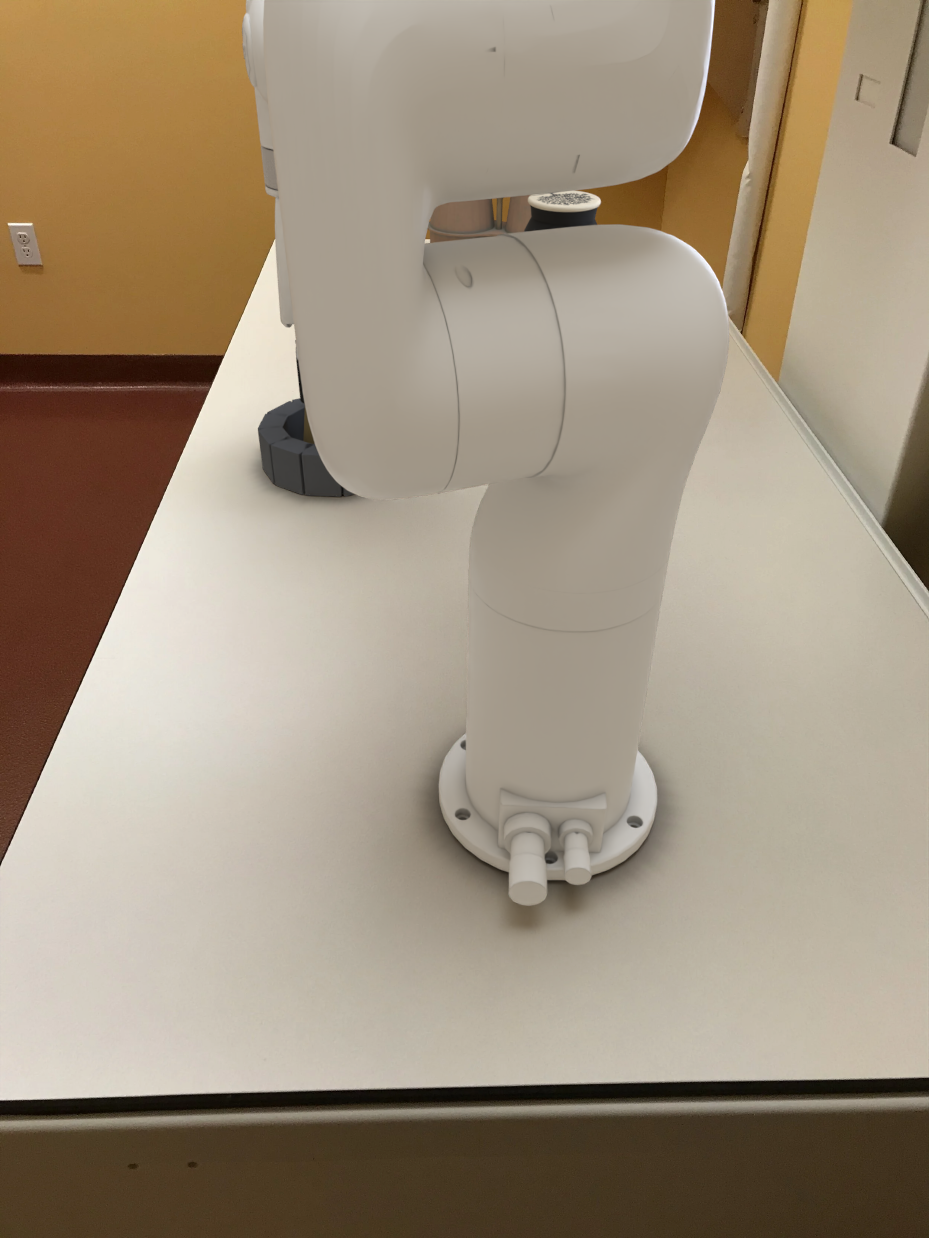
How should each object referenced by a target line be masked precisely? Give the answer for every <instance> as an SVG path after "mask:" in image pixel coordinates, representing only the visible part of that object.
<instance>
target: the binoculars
mask: <svg viewBox="0 0 929 1238" xmlns="http://www.w3.org/2000/svg"><path fill="white" fill-rule="evenodd" d="M529 196H530V195H524V196H514V197H509V203H508V210H507V216H506V221H503V208H504V207H503V204H504V202H503V200H504V198H496V214H495V213H494V205H493V203H494V202H493V199H483V200H473V201H461V202H449V203H445V204H442V205H439V206H437V207H436V208H435V210H434V211H433V214H432V216H431V218H430V220H429V224H428V229H427V231H429V243H434V242H444V241H454V240H463V239H473V238H483V237H493V236H497V235H499V234H508V233H518V232H524V230H525V228H526V226H527V224H528V222H529V220H530V218H531V217H532V216H531V207H530V204H529V203H528V198H529ZM494 214H495V215H496V217H495V215H494Z"/></svg>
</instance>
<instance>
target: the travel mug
mask: <svg viewBox="0 0 929 1238" xmlns="http://www.w3.org/2000/svg"><path fill="white" fill-rule="evenodd" d="M528 203H529V204H530V207H531V216H532V217H531V218H530V220H529V222H528V224H527V226H526V228H525V230H524V232H527V231H537V230H547V229H556V228H566V227H577V226H589V225H598V222H597V220H596V216H597V211H598V208H599V207H600V206H601V204H602V201H601V198H600V196H597V195H596V194H593V193H589V192H585V191H582V190H574V191H565V192H555V193H545V194H535V195H530V196H529V198H528Z"/></svg>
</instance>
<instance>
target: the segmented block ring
mask: <svg viewBox="0 0 929 1238" xmlns="http://www.w3.org/2000/svg"><path fill="white" fill-rule="evenodd" d="M304 415H305V404H304V403H302V402H301V400H300V397H299V398H295V399H291V400H288V401H285V403H283V404H281V405H279V406H276V407H275V408H272V409H270V410H269V411H267V412H266V413H265V414H264V415H263V417H262V419H261V421H260V423H259V425H258V427H257V434H258V441H259V451H260V458H261V465H262V470H263V471H264V473H265V474H266V476H267V478H269V480H270V482H271V483H272V484H273V485H275V487H276V486H277V487H279V488H282V489H285V490H287V491H290V492H293V493H296V494H299V495H301V496H303V495H305V496H308V497H309V496H311V497H313V496H314V497H339V498H341V497H342V495H343V496H344V497H348V496H352V495H355V494H354V493H352V492H349V491H347V490H346V489H345V488H344V487H342V486H341V485H340V484H339V483H337V482H336V481H335V479H334V478H333V477H332V476H331V475H330V473H329V472H328V470H327V469H326V467H325V465H324V464H323V462H322V460H321V458H320V455H319V453H318V451H317V448H316V446H315V444H310V443H307V442H304V441H303V440H304Z"/></svg>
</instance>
